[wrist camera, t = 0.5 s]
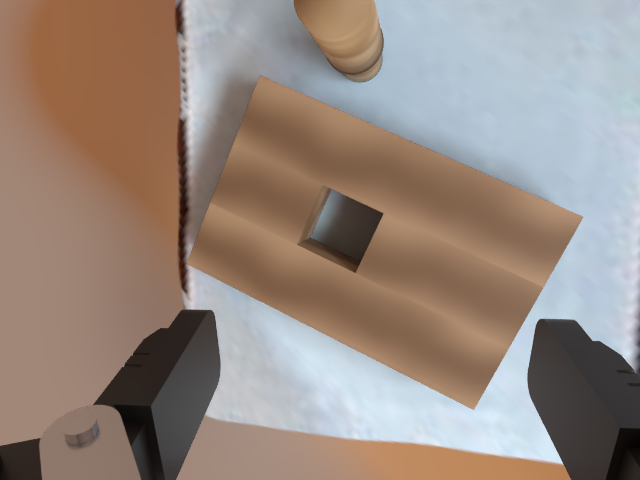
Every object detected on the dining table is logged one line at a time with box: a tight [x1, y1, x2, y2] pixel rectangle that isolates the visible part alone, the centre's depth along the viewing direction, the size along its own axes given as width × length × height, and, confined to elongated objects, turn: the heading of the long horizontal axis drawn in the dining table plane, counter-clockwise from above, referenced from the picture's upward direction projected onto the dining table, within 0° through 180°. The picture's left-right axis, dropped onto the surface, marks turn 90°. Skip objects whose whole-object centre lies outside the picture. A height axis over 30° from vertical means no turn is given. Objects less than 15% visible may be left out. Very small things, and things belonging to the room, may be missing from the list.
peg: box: [294, 0, 384, 82], centre depth 27 cm, size 4×4×12 cm
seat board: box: [186, 76, 583, 410], centre depth 32 cm, size 14×22×4 cm, turn 66°
